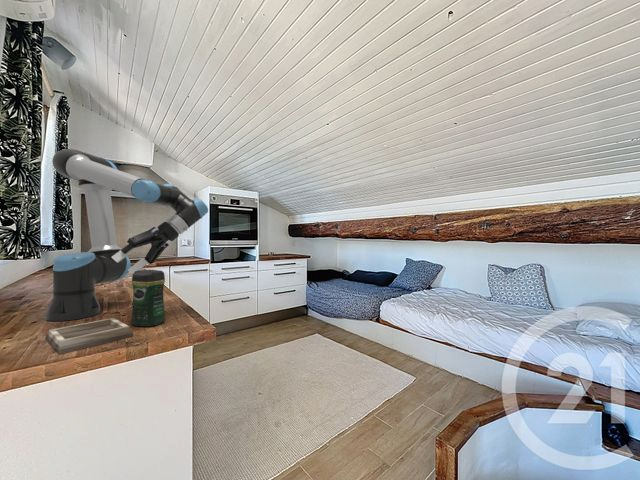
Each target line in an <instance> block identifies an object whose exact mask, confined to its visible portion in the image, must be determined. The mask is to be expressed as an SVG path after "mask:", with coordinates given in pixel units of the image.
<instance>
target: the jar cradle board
mask: <svg viewBox="0 0 640 480" xmlns="http://www.w3.org/2000/svg"><path fill="white" fill-rule="evenodd" d="M130 329H131V328H130V326H129V325H127V324H126V323H124V322H121V320H118V319H116V318H114V317H110V318H104V319H100V320H99V319H98V320H95V321H91V322H85V323H84V322H83V323H79V324H75V325H67V326H63V327H57V328H53V329H52V328H51V329H48V333H46V334H45V339H46V340H47V341H48V343H50V345H51V346H52V347H53V348H54V350H55V351H56V352H57V353H58V354H59V355H62V354H66V353H70V352H71V353H72V352H76V351H79V350H83V349H87V348H92V347H96V346H99V345H104V344H107V343H111V342H112V343H113V342H115V341H121V340H125V339H129V338H133V337H134V332H133V331H131V330H130Z"/></svg>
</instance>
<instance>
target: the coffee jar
mask: <svg viewBox="0 0 640 480" xmlns="http://www.w3.org/2000/svg"><path fill="white" fill-rule="evenodd" d="M165 278H166V277H165V272H164V271H163V270H158V269H140V270H139V271H135V272H134V273H133V274H132V276H131V285H132V289H133V292H132V293H133V294H132V295H133V298H132V311H131V325H133V326H137V327H152V326H157V325H160V324H162V323H164V321H166V320H165V319H166V317H165V315H166V314H165V303H164V302H165V301H164V300H165V299H164V285H165V281H166V279H165Z"/></svg>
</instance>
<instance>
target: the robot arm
mask: <svg viewBox="0 0 640 480" xmlns="http://www.w3.org/2000/svg"><path fill="white" fill-rule="evenodd" d="M51 162H52V166H53V168H54V170H55V171H56V172H57V173H58V174H59V175H61V176H63V177H65V178H67V179H72V180H75V181H78V187H79V189H81V190H82V191H83V192H84V199H85V203H86V204H85V206H86V212H87V220H88V227H89V229H88V230H89V237H90V244H91V248H90V249H89V250H88V251H84V252H81V251H80V252H76V253H75V252H74V253H73V252H72V253H65V254H61V255H58V256H56V257H55V258H54V260H53V266H52V273H53V274H52V277H53V278H52V280H53V282H52V283H53V284H52V286H53V287H52V299H51V301H50V304H49V305H48V308H47V310H46V313H45V319H46V321H50V322H64V321H74V320H75V321H76V320H79V319H85V318H89V317H93V316H96V315H99V314H100V313H101V305H100V302H99V301H98V297H97V296H96V293H95V292H96V291H95V290H96V289H95V287H96V285H98V284H104V283H111V282H115V281H119V280H122V279H123V278H125V277H126V276H127V274H129V273H130V274H132V275H133V273H134V272H135V271H139V270H143V269H144V267H145V266H146V265H148V264H149V265H153V264H154V263H155V262H156V260H157V259H158V258H159V257H160V256H161V254H162V253H163V252H164V251H165V249H166V248H167V247H169V246H170V244H169V243H168V242H169V241H170V242H174V241H175V240H176V239H177V238H178V237H179V236H180V235H182V234H183V233H184V232H186V231H188V229H189V228H190V227H192V226H193V225H194V224H196V223H197V222H198V221H200V220H201V219H203V217H204V216H206V214H207V213H209V207H208V205H207V204H206V203H205V202H204V201H203V199H201V198H199V197H195V198H193V199H191V198H190V197H188V196H187V195H186V194H185V193H184V192H182V190H180V188H178V187H177V186H175V185H174V184H172V183H169V182H168V183H164V184H162V183H161V184H160V183H157V182H154V181H151V180H149V179H145V178H142V177H139V176H137V175H134V174H131V173H128V172H125V171H121V170H119V169H118V167H117V166H116V164H114V163H113V162H112V161H111V160H108V159H105V158H103V157H99V156H96V155H93V154H90V153H87V152H84V151H81V150H77V149H74V148H64V149H61V150H58V151H57V152H55V154H54V155H53V157H52V161H51ZM111 191H117V192H119V193H122V194H124V195H125V194H126V195H128V196H130V197H134V198H135V199H136V200H138V201H141V202H144V203H151V204H155V205H160V206H166V207H170V208H171V209H172V210H174V212H175V213H174V214H172V215H171V216H170V217H169V218H167V219H165V221H163V222H162V223H161V224H159V225H158V226H157V227H156V226H153V227H152V228H149V229H147V230H146V231H143V232H141V233H138V234H136V235H133V236H131V237H129V238H128V240H127V241H126V243H127V245H125V246H124V247H123V248H121V247H120V246H119V245H118V241H117V233H116V226H115V219H114V210H113V202H112V195H111ZM150 244H151V245H150ZM147 245H150V246H151V247H150V249H149V250H148V252H147V254H145V255H146V256H145V257H142V258H141V259H140V260H138V261H137V262H136V263H134V264H133V265H132V266H131V260H130V258H129V257H128V256H129V255H130V254H132V253H134V251H136V249H135V248H140V247H143V246H147Z"/></svg>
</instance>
